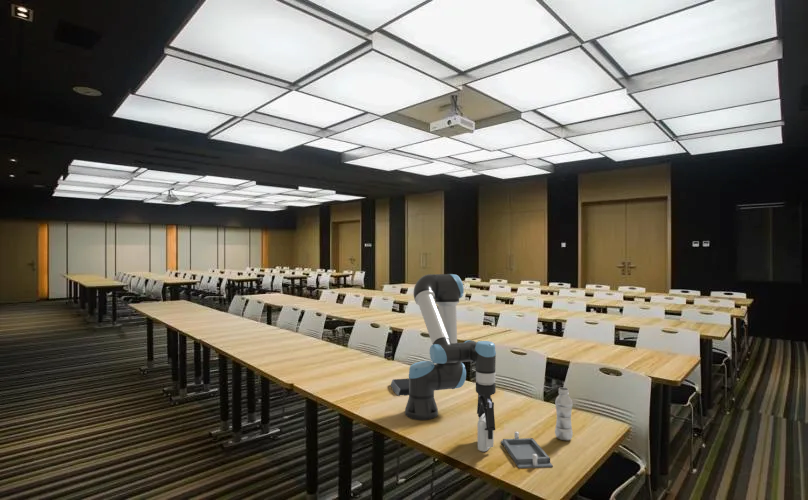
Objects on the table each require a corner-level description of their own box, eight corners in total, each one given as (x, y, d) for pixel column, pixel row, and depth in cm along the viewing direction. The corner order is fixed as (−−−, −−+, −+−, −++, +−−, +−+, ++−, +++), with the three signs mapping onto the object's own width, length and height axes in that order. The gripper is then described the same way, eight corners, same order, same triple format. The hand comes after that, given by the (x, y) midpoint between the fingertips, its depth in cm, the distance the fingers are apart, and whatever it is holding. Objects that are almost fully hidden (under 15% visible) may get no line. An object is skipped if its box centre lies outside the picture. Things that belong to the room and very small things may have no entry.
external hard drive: (396, 397, 215) (396, 389, 215) (389, 385, 234) (389, 378, 234) (420, 395, 218) (420, 387, 218) (411, 384, 237) (411, 377, 237)
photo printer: (484, 439, 164) (484, 408, 164) (494, 442, 162) (494, 410, 162) (476, 450, 154) (476, 417, 155) (487, 453, 152) (487, 419, 153)
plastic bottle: (552, 435, 167) (551, 386, 168) (568, 435, 168) (567, 386, 168) (559, 443, 161) (559, 391, 161) (575, 442, 161) (575, 391, 162)
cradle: (518, 468, 142) (518, 456, 142) (501, 442, 162) (501, 431, 162) (552, 467, 142) (552, 455, 142) (530, 441, 162) (530, 431, 162)
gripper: (504, 391, 148) (504, 454, 147) (487, 373, 170) (487, 428, 169) (483, 391, 147) (483, 454, 147) (469, 374, 169) (469, 428, 169)
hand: (485, 440), depth 158 cm, fingers closed on photo printer, 10 cm apart
